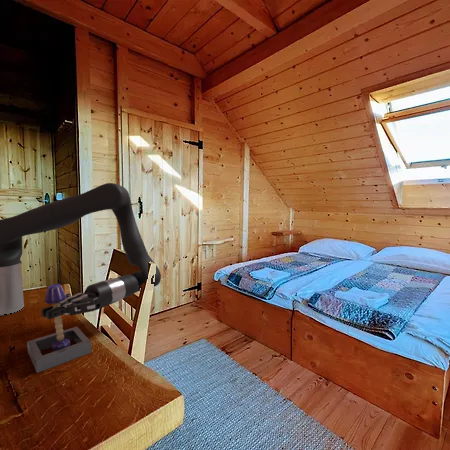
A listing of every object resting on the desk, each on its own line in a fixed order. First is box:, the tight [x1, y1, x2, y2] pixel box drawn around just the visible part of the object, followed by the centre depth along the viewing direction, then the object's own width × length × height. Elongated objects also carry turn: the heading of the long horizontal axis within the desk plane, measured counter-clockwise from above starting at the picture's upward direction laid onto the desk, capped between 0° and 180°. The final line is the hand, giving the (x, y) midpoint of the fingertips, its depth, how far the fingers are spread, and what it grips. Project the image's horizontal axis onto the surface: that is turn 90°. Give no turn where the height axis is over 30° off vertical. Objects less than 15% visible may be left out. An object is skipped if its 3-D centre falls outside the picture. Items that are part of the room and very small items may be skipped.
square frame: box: [26, 326, 92, 374], centre depth 71 cm, size 12×12×3 cm
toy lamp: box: [44, 283, 71, 352], centre depth 70 cm, size 5×5×17 cm
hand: (44, 314), depth 68 cm, fingers closed on toy lamp
